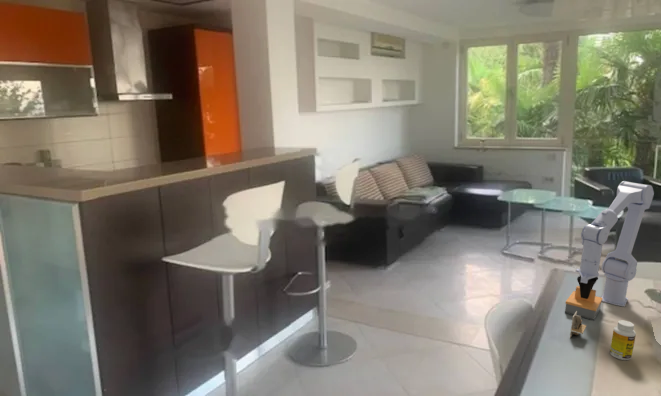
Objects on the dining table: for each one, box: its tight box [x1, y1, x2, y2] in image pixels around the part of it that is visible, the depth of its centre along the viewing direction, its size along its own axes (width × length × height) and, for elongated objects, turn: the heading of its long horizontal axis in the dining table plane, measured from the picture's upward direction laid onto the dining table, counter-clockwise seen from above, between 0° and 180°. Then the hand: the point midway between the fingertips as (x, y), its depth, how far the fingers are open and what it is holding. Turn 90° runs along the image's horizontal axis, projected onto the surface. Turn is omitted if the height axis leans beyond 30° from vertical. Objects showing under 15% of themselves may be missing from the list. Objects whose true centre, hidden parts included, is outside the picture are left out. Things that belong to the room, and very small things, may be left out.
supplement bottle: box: [609, 319, 637, 361], centre depth 143 cm, size 6×6×10 cm
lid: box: [565, 285, 603, 311], centre depth 173 cm, size 12×9×6 cm
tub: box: [564, 302, 602, 322], centre depth 174 cm, size 12×9×4 cm
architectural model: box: [569, 311, 587, 339], centre depth 154 cm, size 3×7×7 cm, turn 144°
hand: (584, 297), depth 173 cm, fingers closed on lid
